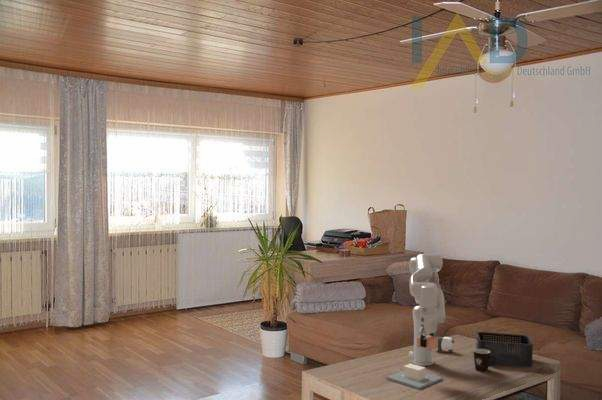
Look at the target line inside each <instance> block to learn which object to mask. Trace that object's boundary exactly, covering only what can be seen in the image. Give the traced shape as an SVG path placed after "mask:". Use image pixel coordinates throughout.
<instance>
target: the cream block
mask: <svg viewBox="0 0 602 400" xmlns="http://www.w3.org/2000/svg"><path fill="white" fill-rule="evenodd" d="M403 370H404V376H406V377H409V378H413V379H416V380H421V379H423V378H425V374H426V373H427V372H426V367H425V366H421V365H416V364H413V363H408V364H406V365H404V366H403Z"/></svg>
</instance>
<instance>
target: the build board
mask: <svg viewBox="0 0 602 400" xmlns="http://www.w3.org/2000/svg"><path fill="white" fill-rule="evenodd" d="M385 379H386V380H388V381H392V382H394V383H398V384H401V385H404V386H407V387H410V388H413V389H417V390H422V389H425V388H426V387H429V386H432V385H434V384H436V383H438V382H441V381H443V379H444V378H443V377H442V376H439V375H435V374H432V373H429V372H426V374H425V378H423V379H421V380H416V379H413V378H409V377H406V376H404V369H403V370H401V371H398V372H395V373H393V374H390V375H388V376H386V377H385Z"/></svg>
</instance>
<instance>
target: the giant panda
mask: <svg viewBox="0 0 602 400" xmlns="http://www.w3.org/2000/svg"><path fill="white" fill-rule="evenodd" d="M435 336H436V337H438V347H437V351H436V353H442V351H443V350H447V352H446V353H447V354H449V355H450V354H452V353H453V351H454V343H455V340H454V339H453V338H452V337H450V336H437V334H436V335H435Z"/></svg>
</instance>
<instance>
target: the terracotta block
mask: <svg viewBox="0 0 602 400" xmlns="http://www.w3.org/2000/svg"><path fill="white" fill-rule="evenodd" d="M423 336H424V335H423ZM438 337H439V336H437V337H436V336H429V335H427V336H426V347H422V346H420V337H419V336H418V337H417V347H420V348H427V349H431V350H436V349H438Z"/></svg>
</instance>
